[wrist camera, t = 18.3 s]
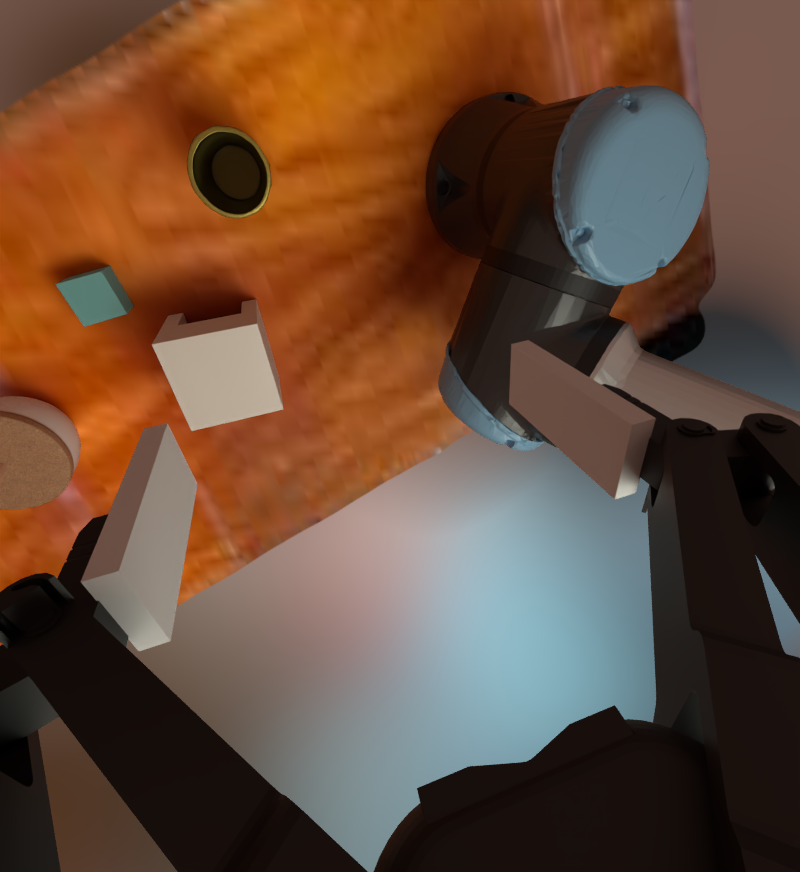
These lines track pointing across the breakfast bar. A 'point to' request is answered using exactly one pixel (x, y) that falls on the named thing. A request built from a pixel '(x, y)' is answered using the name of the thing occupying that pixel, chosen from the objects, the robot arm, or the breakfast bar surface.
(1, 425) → the lidded jar
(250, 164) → the vase
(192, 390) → the notched white block
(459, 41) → the breakfast bar surface
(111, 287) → the teal block
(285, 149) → the breakfast bar surface
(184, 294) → the breakfast bar surface
